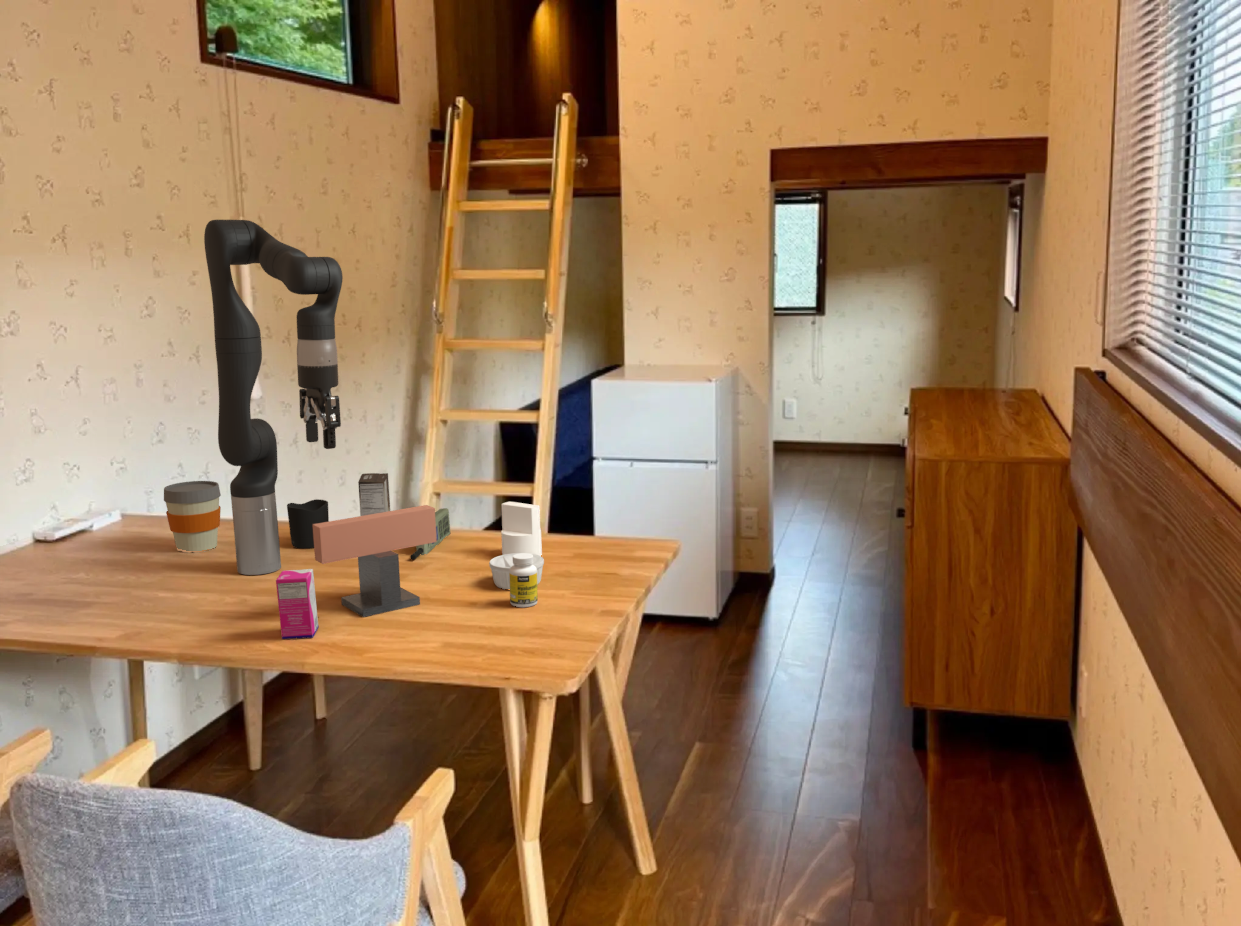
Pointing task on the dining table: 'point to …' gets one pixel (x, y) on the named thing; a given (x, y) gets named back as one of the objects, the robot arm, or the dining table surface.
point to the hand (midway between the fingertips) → (320, 445)
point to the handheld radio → (441, 533)
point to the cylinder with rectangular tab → (521, 528)
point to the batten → (374, 533)
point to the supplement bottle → (523, 581)
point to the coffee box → (374, 493)
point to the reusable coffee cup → (193, 514)
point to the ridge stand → (379, 586)
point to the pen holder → (306, 521)
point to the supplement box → (297, 604)
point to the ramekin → (502, 567)
